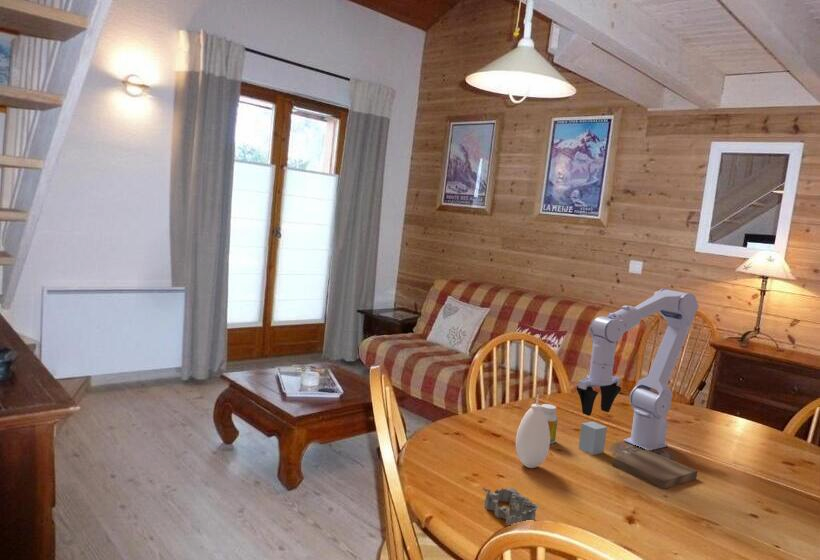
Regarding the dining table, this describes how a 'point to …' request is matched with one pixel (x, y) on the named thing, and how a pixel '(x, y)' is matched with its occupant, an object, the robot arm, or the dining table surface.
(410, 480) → the dining table surface
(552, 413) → the supplement bottle
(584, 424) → the blue-grey block
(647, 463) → the walnut board
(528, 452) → the sauce bottle
